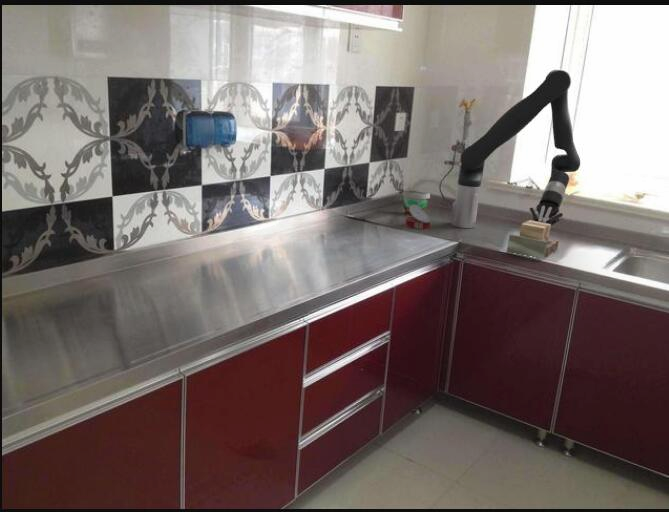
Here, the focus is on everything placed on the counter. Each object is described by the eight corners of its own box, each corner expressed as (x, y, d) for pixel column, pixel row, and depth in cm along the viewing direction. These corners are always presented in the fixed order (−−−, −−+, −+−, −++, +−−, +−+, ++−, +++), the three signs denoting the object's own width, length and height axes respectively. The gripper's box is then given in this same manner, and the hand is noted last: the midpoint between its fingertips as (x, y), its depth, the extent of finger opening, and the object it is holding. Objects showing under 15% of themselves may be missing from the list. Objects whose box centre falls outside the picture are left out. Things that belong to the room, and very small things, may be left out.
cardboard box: (526, 238, 241) (529, 220, 239) (547, 242, 237) (551, 224, 235) (518, 242, 233) (521, 224, 231) (540, 247, 229) (543, 228, 227)
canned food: (420, 235, 266) (432, 214, 265) (426, 238, 256) (440, 217, 256) (397, 221, 264) (410, 200, 263) (403, 224, 254) (416, 203, 253)
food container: (399, 214, 279) (401, 192, 277) (400, 211, 285) (402, 189, 282) (427, 217, 278) (430, 195, 275) (428, 215, 283) (430, 192, 281)
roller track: (523, 242, 248) (526, 225, 246) (557, 249, 242) (560, 232, 240) (506, 252, 232) (509, 234, 230) (542, 259, 225) (545, 242, 223)
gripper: (535, 186, 246) (520, 222, 239) (570, 192, 239) (556, 229, 233) (536, 198, 252) (522, 234, 245) (571, 204, 245) (557, 241, 238)
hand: (538, 231), depth 239 cm, fingers closed
